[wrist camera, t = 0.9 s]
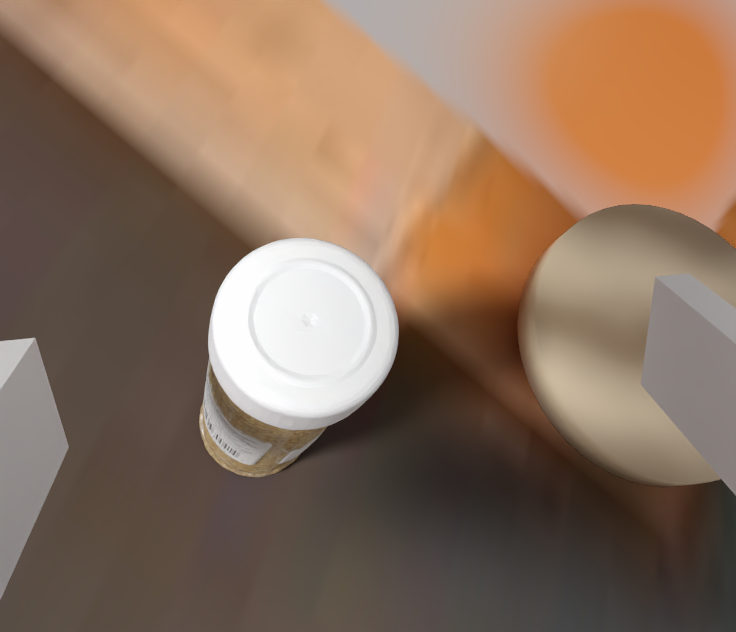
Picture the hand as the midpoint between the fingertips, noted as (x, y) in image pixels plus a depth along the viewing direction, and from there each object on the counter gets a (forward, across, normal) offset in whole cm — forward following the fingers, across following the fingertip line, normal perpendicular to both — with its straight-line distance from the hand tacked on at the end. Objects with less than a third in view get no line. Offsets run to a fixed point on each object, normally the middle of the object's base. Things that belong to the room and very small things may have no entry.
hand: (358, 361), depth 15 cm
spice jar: (+11, -4, -9) cm, 15 cm away
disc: (+15, +14, -10) cm, 23 cm away
